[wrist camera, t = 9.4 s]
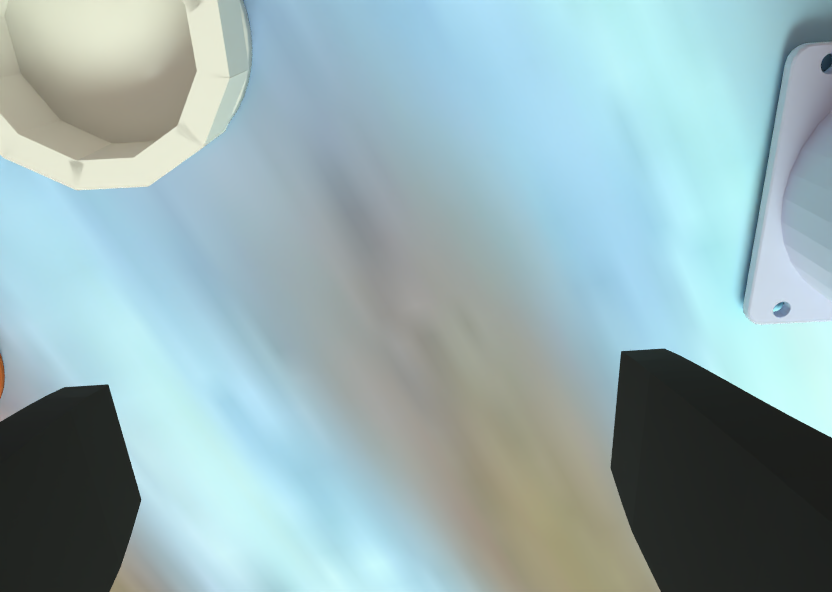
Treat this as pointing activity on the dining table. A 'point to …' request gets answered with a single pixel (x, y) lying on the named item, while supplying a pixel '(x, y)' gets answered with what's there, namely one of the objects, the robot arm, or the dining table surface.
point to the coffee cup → (1, 376)
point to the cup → (118, 85)
